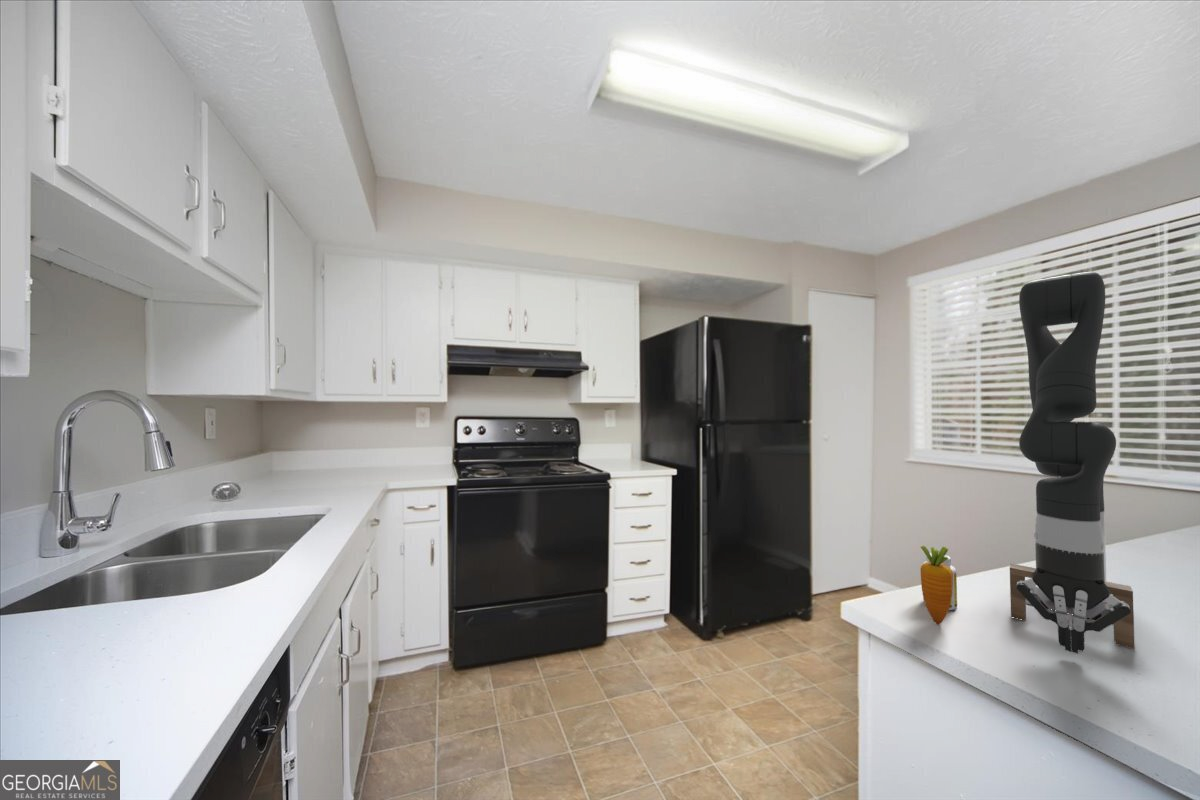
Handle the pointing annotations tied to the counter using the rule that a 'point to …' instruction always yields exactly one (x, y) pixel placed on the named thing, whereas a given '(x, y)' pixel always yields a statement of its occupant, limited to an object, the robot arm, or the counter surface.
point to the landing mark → (1051, 605)
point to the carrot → (936, 584)
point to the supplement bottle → (954, 591)
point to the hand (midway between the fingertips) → (1071, 649)
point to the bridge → (1119, 591)
